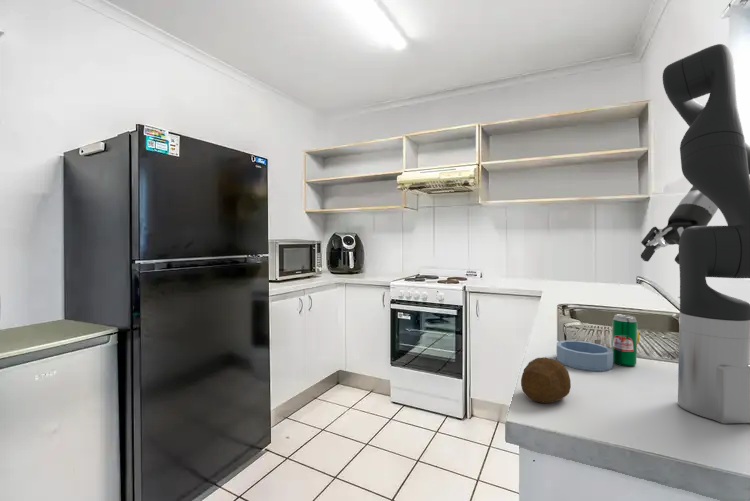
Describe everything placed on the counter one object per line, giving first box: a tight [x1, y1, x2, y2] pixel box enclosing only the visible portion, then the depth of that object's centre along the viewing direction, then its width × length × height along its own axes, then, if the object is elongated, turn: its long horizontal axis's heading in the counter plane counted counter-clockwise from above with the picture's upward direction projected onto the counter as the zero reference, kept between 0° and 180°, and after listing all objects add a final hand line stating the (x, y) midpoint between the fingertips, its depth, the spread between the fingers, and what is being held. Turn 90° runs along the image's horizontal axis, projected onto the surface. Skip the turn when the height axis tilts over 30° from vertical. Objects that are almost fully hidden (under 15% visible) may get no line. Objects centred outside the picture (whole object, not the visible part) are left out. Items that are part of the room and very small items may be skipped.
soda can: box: [611, 314, 638, 367], centre depth 88 cm, size 5×5×12 cm
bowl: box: [555, 340, 614, 372], centre depth 88 cm, size 12×12×4 cm
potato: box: [520, 356, 572, 404], centre depth 68 cm, size 8×12×8 cm, turn 136°
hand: (660, 261), depth 89 cm, fingers open, 8 cm apart
